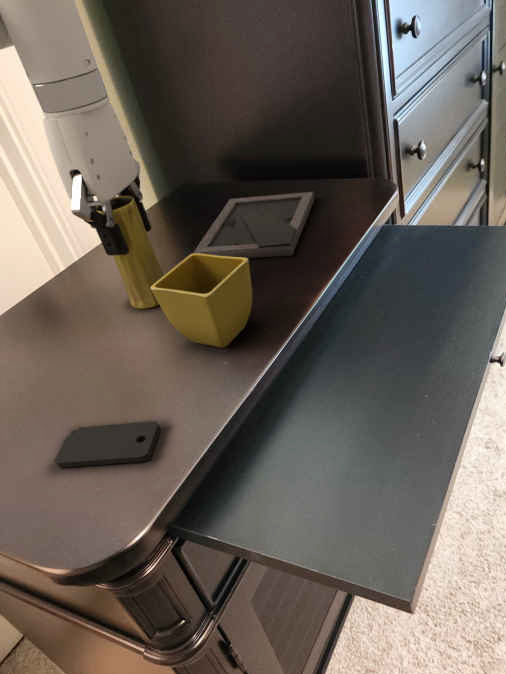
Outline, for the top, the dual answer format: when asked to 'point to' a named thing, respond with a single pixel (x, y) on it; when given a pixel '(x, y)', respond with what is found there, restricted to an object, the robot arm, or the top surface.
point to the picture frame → (258, 226)
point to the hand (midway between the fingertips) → (129, 241)
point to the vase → (135, 254)
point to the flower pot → (207, 297)
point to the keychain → (108, 444)
